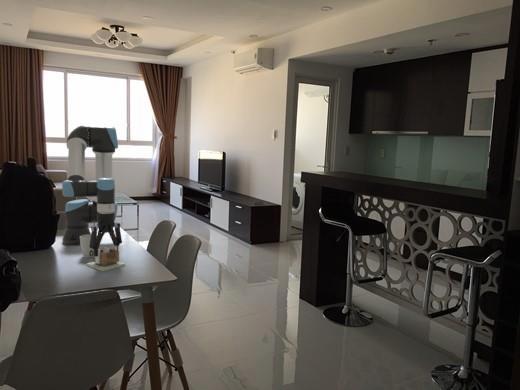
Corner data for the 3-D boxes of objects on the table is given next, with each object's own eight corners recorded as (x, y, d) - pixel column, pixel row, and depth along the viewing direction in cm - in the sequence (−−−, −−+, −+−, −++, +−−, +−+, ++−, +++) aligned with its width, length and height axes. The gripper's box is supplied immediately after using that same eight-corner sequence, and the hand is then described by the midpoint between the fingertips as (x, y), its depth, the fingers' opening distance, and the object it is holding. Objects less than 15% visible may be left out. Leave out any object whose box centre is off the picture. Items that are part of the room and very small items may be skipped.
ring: (93, 261, 195) (93, 251, 195) (108, 258, 202) (108, 247, 201) (103, 265, 191) (103, 254, 190) (119, 261, 197) (119, 251, 196)
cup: (91, 259, 205) (91, 238, 204) (76, 257, 207) (76, 237, 206) (100, 254, 213) (100, 235, 212) (86, 253, 215) (86, 233, 214)
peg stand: (86, 265, 195) (86, 247, 194) (109, 260, 205) (109, 243, 204) (102, 271, 188) (102, 252, 187) (125, 265, 198) (125, 247, 197)
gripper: (89, 216, 183) (90, 267, 186) (130, 210, 199) (130, 258, 202) (79, 213, 187) (80, 264, 190) (120, 208, 204) (120, 255, 207)
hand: (106, 261), depth 196 cm, fingers closed on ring, 8 cm apart
